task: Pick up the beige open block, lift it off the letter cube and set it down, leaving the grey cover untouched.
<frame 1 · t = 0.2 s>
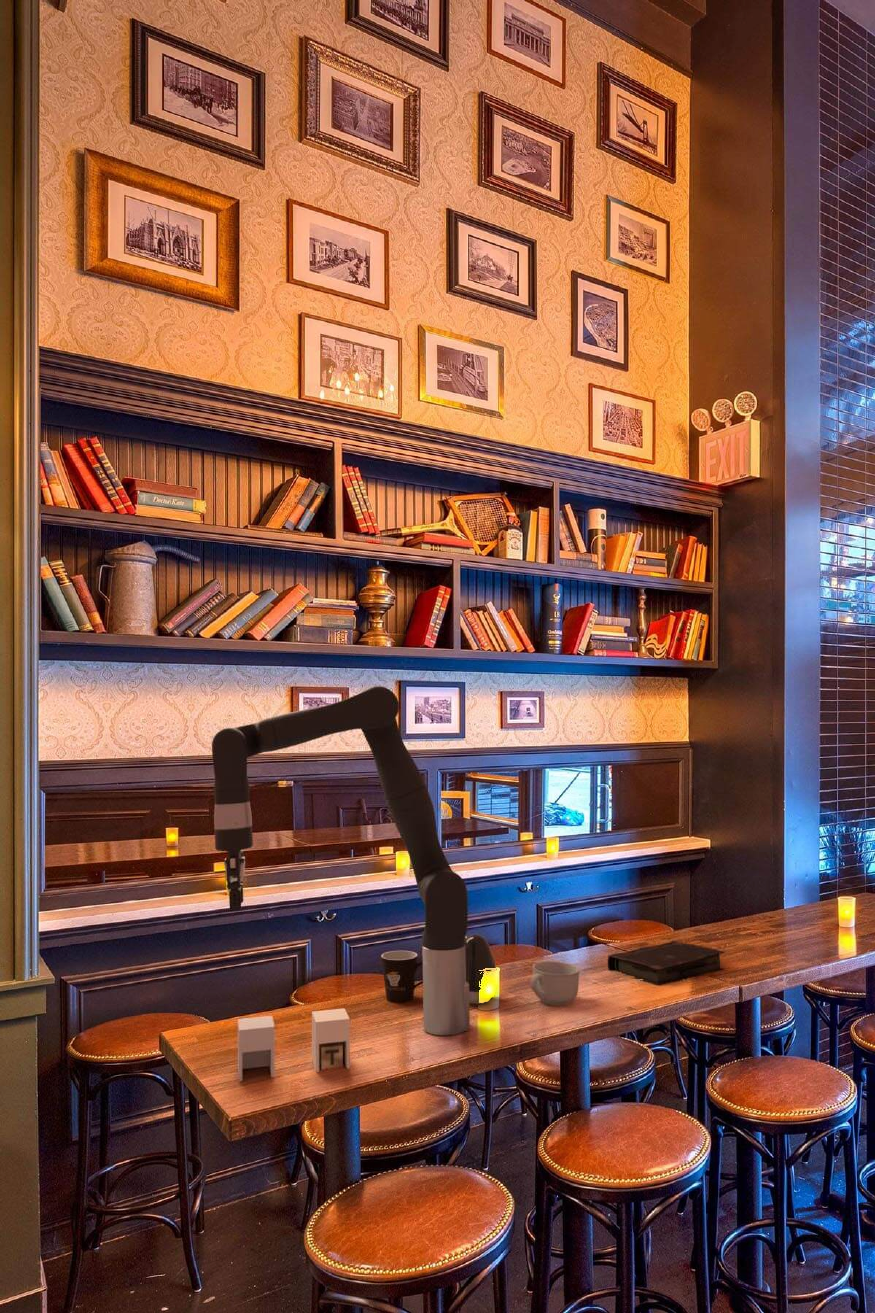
hand: (236, 906, 172), 28 cm above the table, tool pointing down, fingers open, 8 cm apart
letter cube: (330, 1053, 162), in the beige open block
diary: (667, 972, 222), on the table
grey cover: (255, 1072, 159), on the table
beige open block: (330, 1064, 162), on the table
teacup: (551, 1004, 196), on the table
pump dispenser: (476, 1001, 199), on the table
coffee mug: (404, 1000, 201), on the table
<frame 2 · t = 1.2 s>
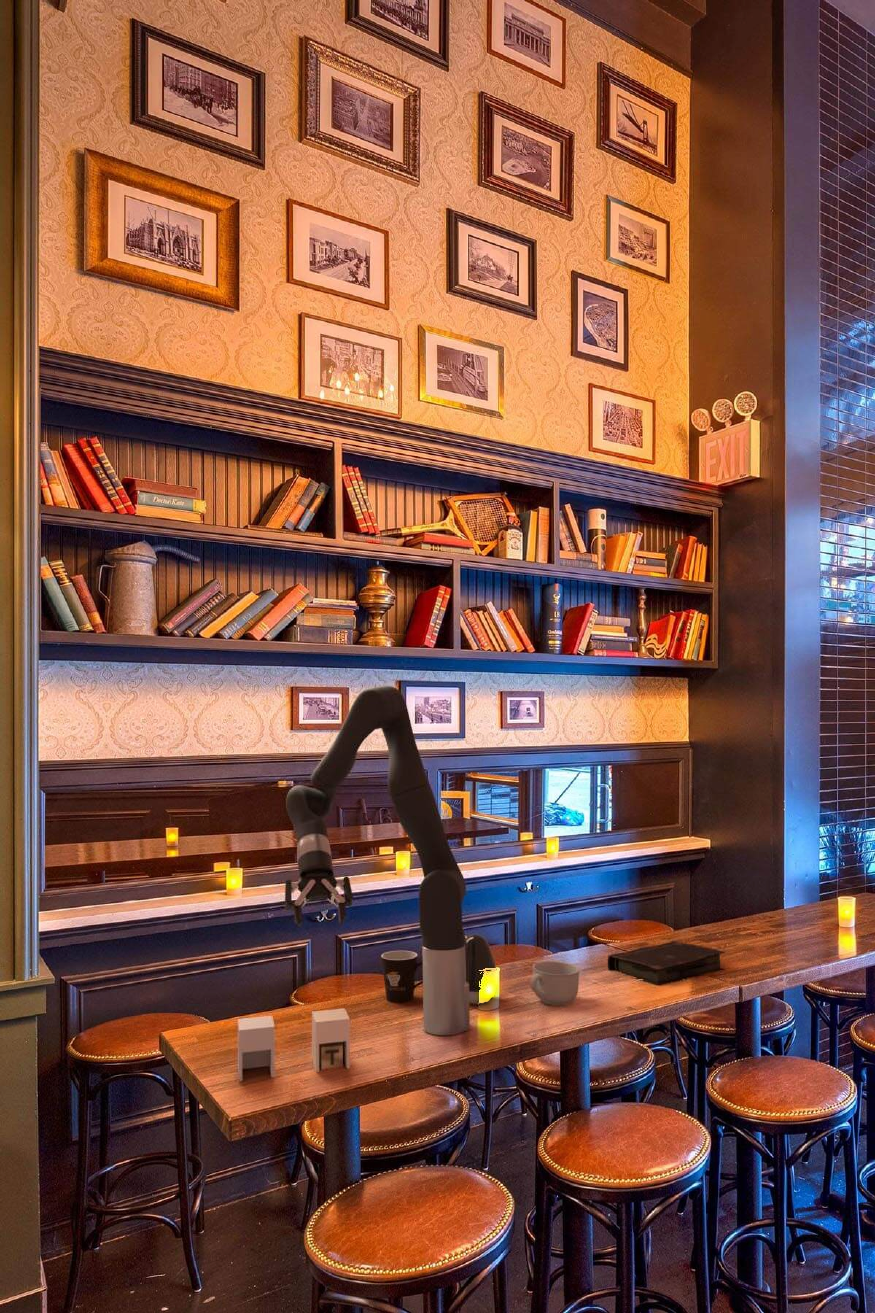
hand: (321, 923, 177), 24 cm above the table, tool tilted 45°, fingers open, 8 cm apart
nothing on the table moved.
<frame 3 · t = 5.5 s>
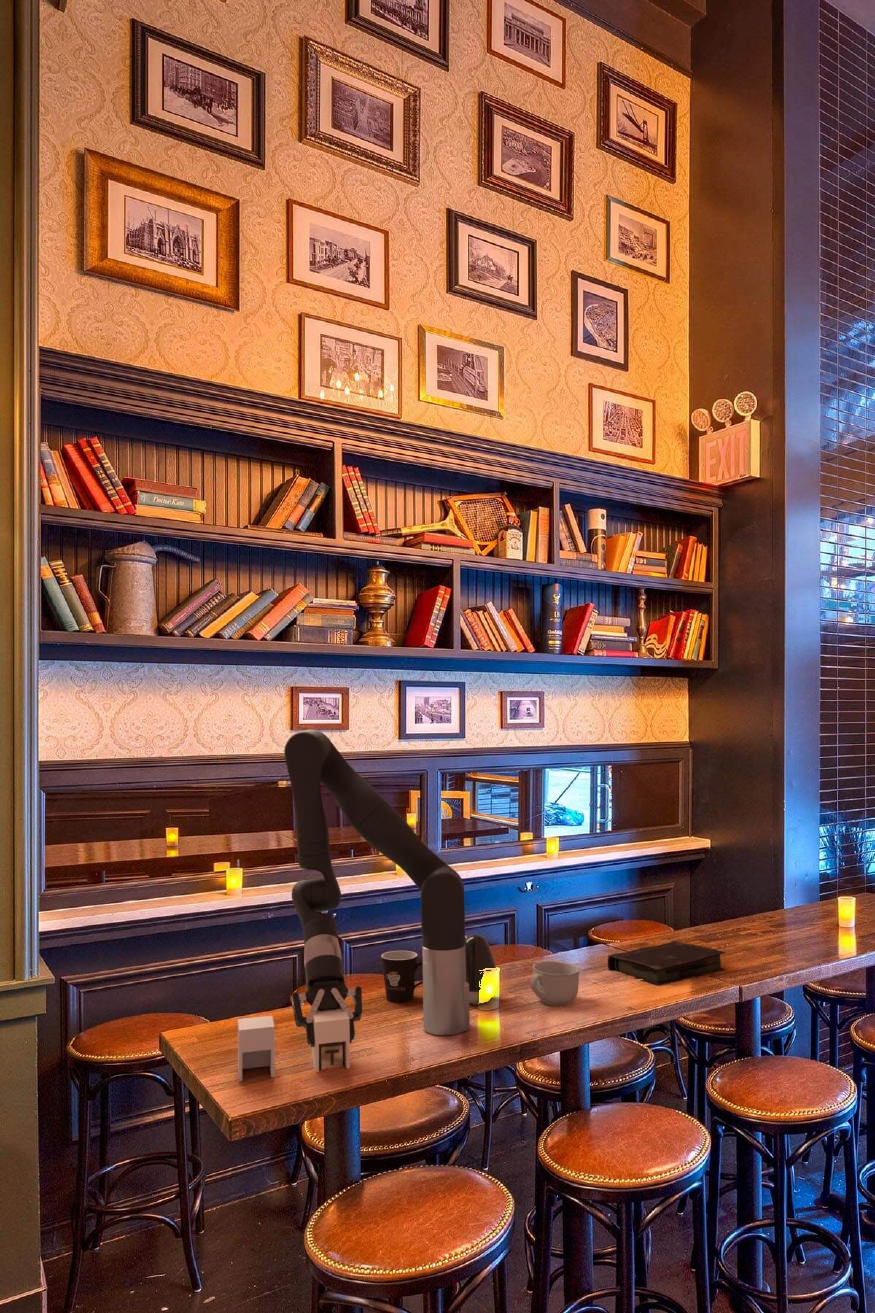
hand: (331, 1043, 161), 4 cm above the table, tool tilted 45°, fingers closed on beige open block, 6 cm apart
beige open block: (330, 1064, 162), on the table, touching gripper
everything else where it was.
when the fingers open (5 cm above the table, at t = 11.5 s): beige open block stays where it is, on the table.
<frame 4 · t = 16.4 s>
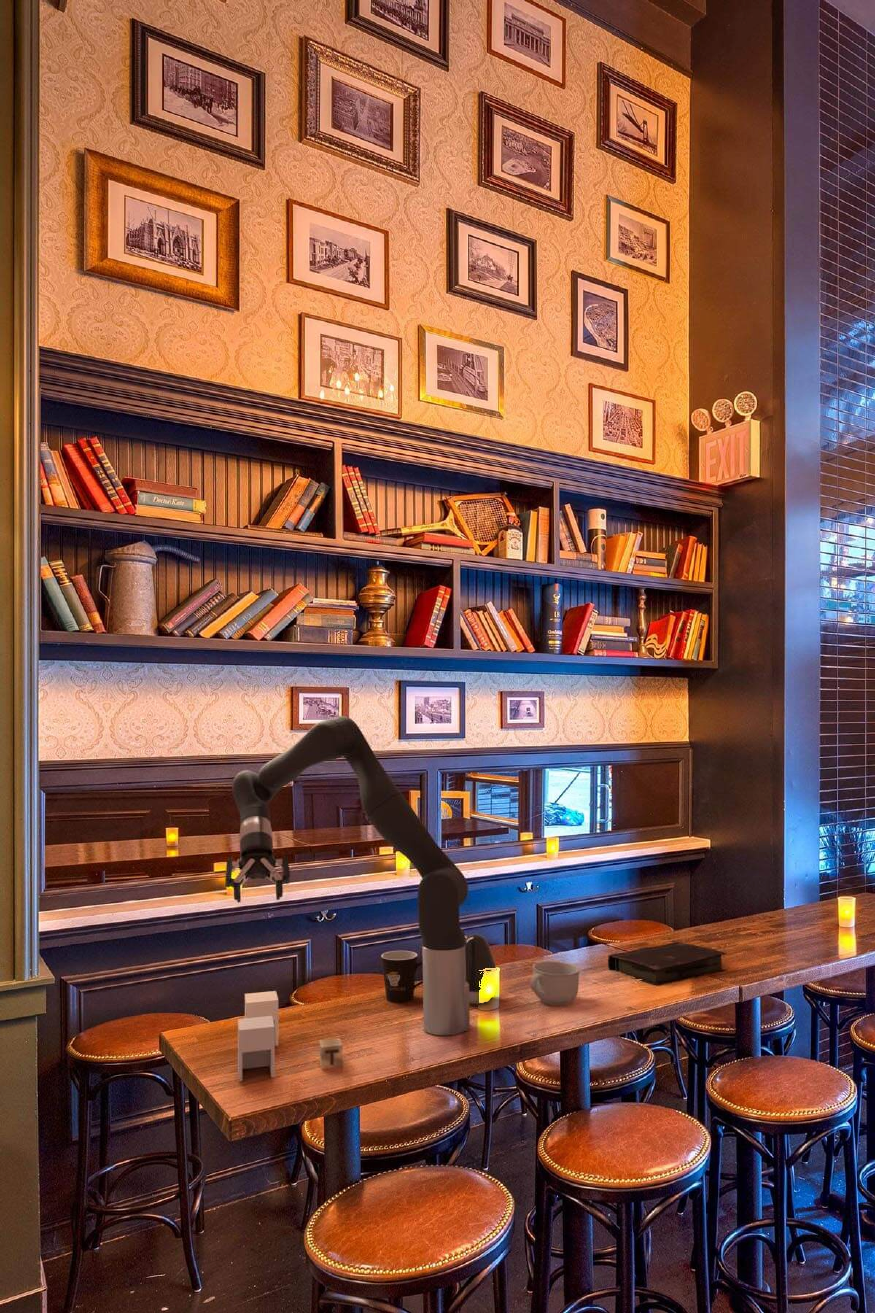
hand: (258, 899, 188), 27 cm above the table, tool tilted 45°, fingers open, 8 cm apart
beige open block: (261, 1042, 175), on the table
everything else where it was.
at the end: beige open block inside the target area (0.1 cm from its centre), on the table; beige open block tilted 0°; letter cube moved 0.1 cm from its start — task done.
